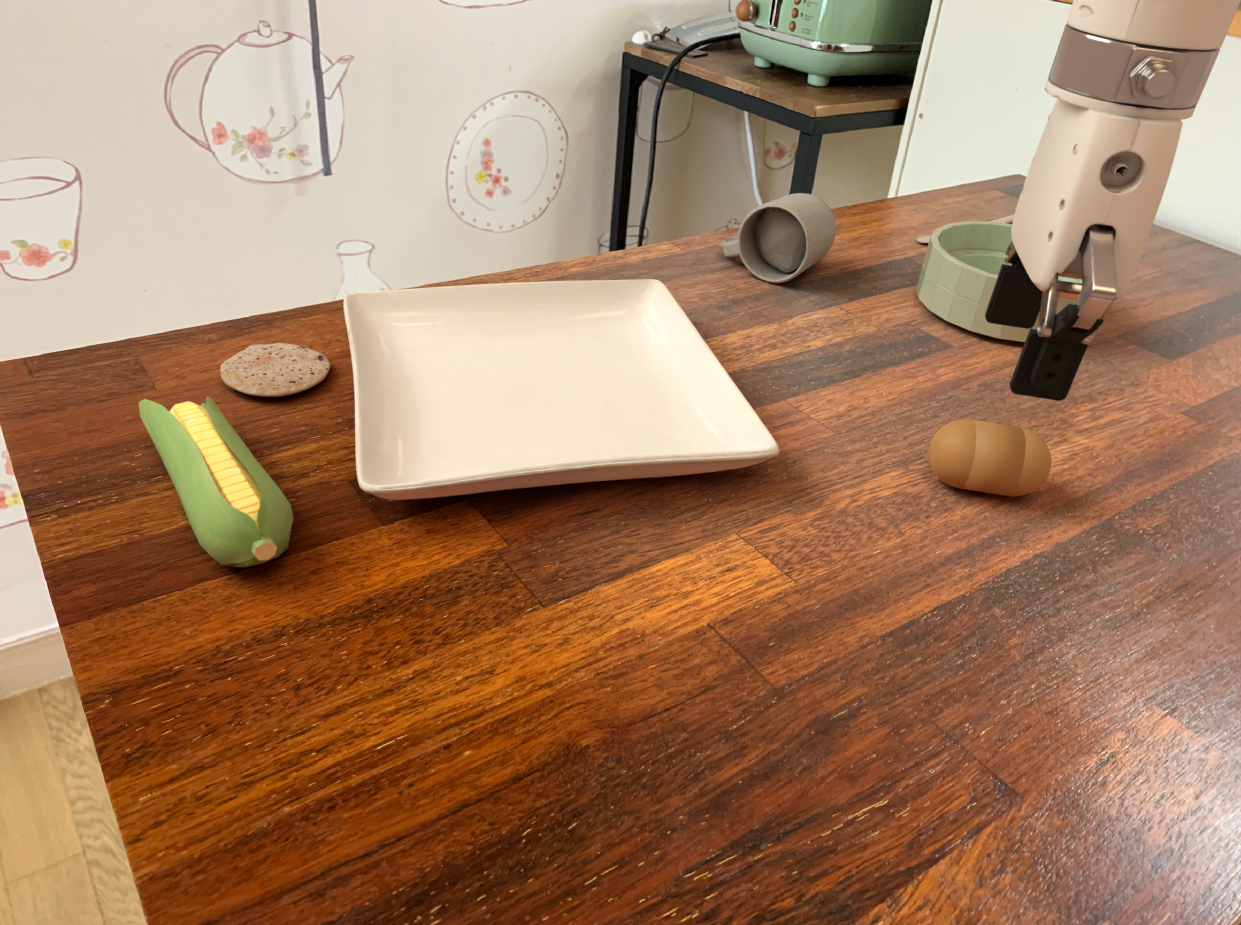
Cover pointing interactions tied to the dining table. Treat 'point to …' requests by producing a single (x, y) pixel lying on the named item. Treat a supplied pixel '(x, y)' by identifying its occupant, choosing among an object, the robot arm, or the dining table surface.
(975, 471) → the tan rounded oval piece
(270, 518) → the edible corn
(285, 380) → the flatbread
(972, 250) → the bowl
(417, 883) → the dining table surface
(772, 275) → the ceramic mug
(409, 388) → the square plate
